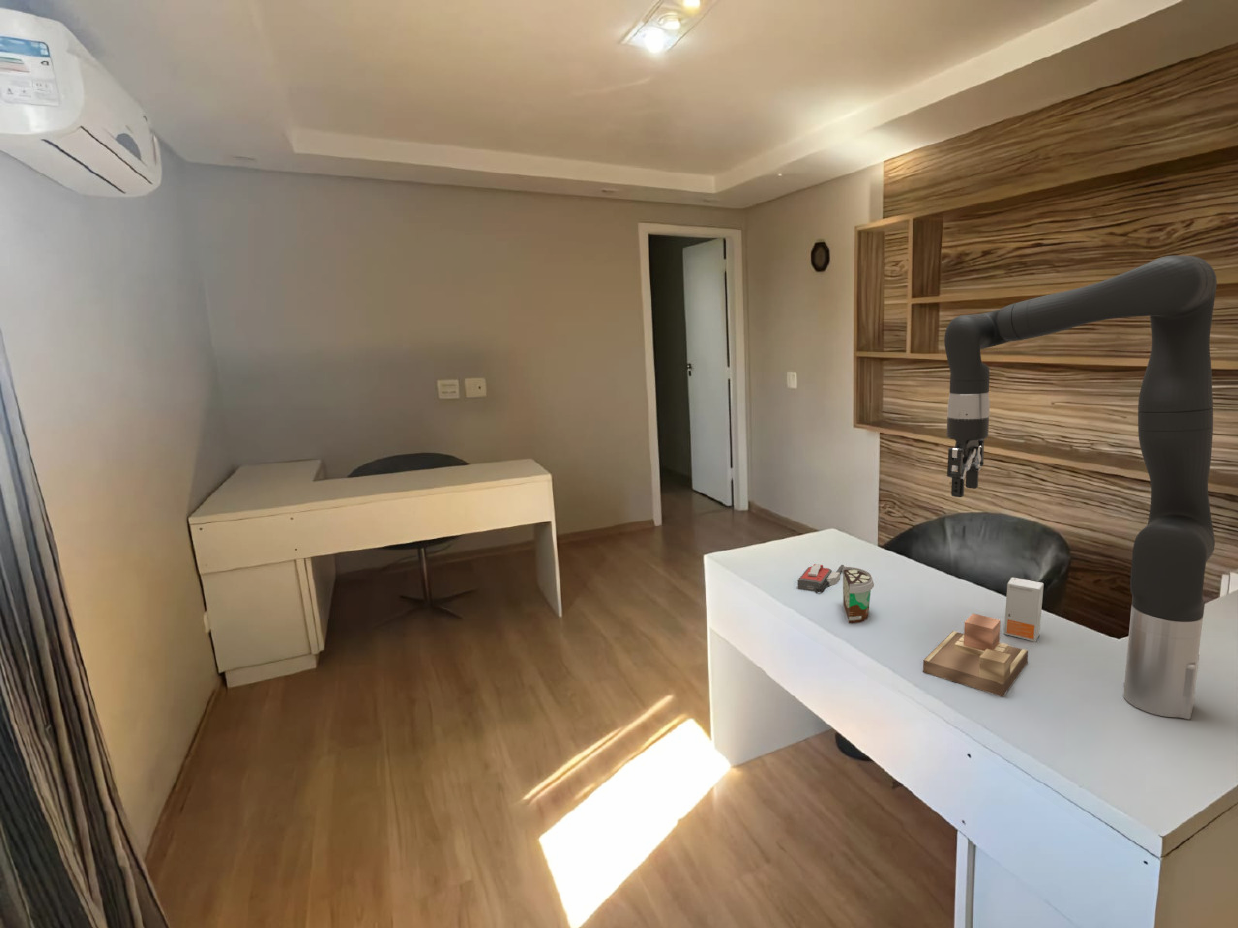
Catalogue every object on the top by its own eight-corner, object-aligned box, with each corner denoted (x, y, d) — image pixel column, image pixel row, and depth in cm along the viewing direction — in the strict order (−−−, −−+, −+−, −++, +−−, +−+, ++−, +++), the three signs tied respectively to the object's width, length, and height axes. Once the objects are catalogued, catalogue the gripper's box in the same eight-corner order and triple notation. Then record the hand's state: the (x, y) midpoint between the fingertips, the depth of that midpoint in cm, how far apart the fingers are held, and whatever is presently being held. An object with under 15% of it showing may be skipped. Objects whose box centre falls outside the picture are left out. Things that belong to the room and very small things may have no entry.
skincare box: (1003, 634, 139) (1006, 582, 136) (1008, 627, 142) (1011, 576, 140) (1036, 642, 135) (1039, 588, 132) (1040, 635, 138) (1044, 582, 135)
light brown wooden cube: (1010, 674, 119) (1010, 654, 118) (1003, 683, 116) (1003, 662, 115) (986, 668, 122) (986, 648, 121) (979, 676, 119) (979, 656, 118)
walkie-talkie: (828, 596, 165) (846, 570, 181) (828, 580, 164) (846, 555, 181) (794, 591, 169) (815, 566, 186) (794, 575, 169) (815, 552, 185)
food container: (878, 626, 146) (878, 585, 144) (849, 625, 148) (849, 584, 146) (868, 604, 158) (869, 565, 156) (842, 603, 159) (842, 565, 157)
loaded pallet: (1008, 650, 128) (1009, 621, 126) (998, 661, 123) (1000, 631, 122) (964, 638, 133) (966, 610, 132) (954, 649, 129) (955, 620, 128)
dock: (1027, 662, 127) (1028, 650, 127) (1002, 696, 116) (1003, 683, 116) (952, 641, 137) (952, 630, 137) (922, 671, 126) (923, 659, 126)
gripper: (976, 420, 123) (972, 502, 126) (999, 411, 133) (995, 487, 136) (935, 418, 128) (932, 497, 132) (960, 410, 138) (957, 483, 141)
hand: (964, 492), depth 134 cm, fingers open, 8 cm apart
